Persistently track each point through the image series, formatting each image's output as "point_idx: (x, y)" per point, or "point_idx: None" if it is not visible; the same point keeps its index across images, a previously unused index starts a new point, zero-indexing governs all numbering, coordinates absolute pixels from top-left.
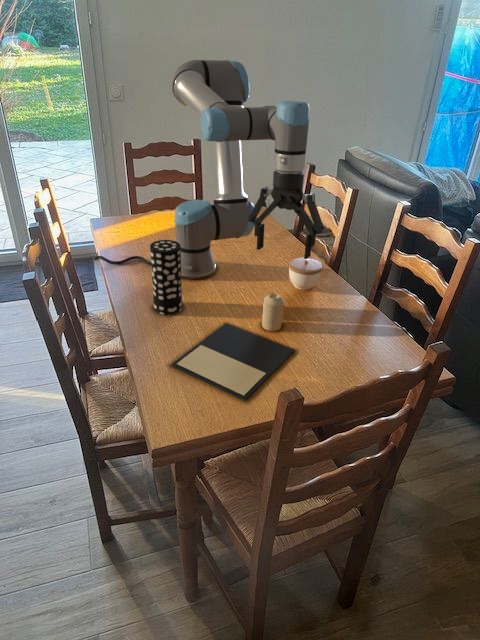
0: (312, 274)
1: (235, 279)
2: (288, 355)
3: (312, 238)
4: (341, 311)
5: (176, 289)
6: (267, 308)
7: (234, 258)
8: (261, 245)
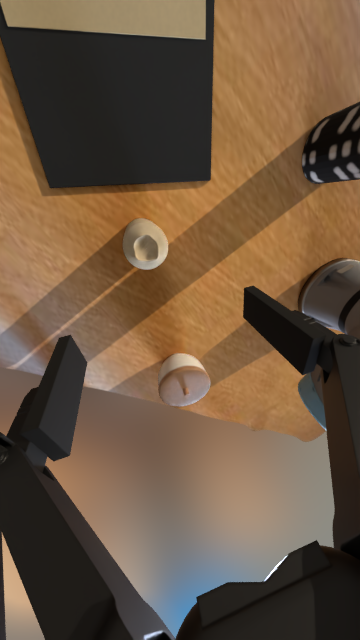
0: (163, 378)
1: None
2: (40, 157)
3: (20, 425)
4: (92, 349)
5: (354, 129)
6: (144, 221)
7: None
8: (249, 308)
